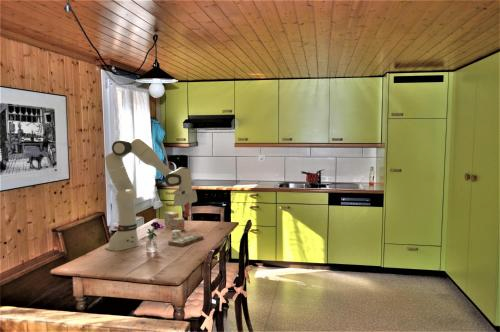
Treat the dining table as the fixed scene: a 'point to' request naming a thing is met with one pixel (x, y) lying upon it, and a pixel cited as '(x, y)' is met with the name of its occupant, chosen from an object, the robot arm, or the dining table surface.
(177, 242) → the board
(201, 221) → the dining table surface
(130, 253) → the dining table surface
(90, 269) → the dining table surface
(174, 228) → the stack of blocks
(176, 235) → the die
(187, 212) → the pawn
